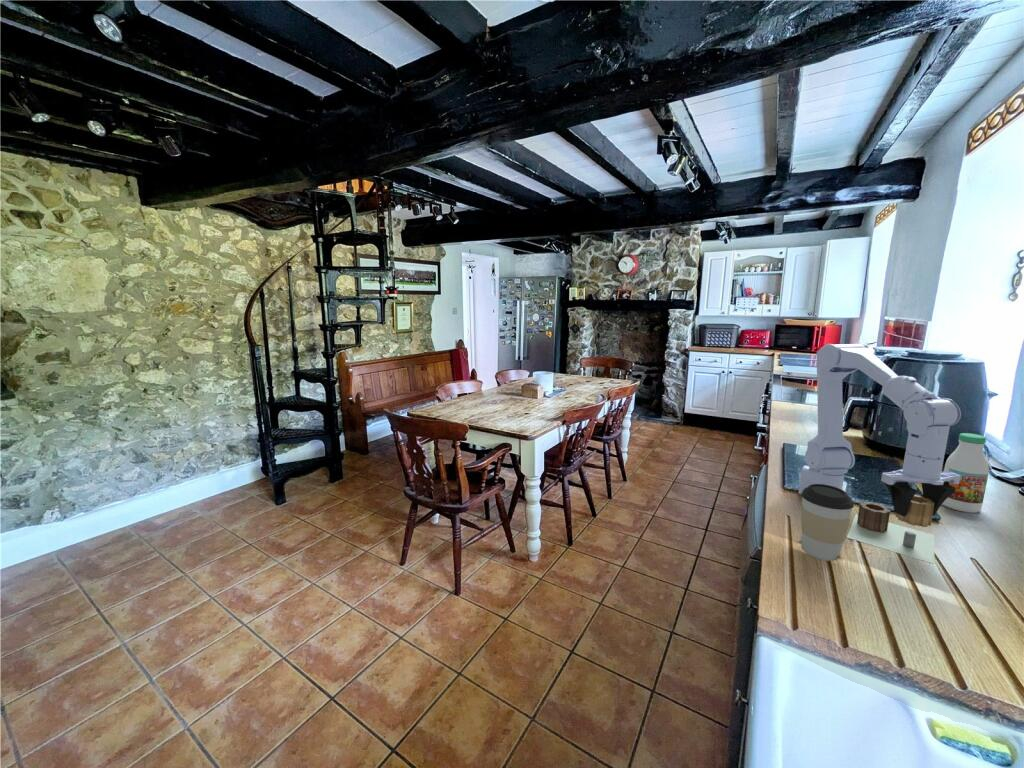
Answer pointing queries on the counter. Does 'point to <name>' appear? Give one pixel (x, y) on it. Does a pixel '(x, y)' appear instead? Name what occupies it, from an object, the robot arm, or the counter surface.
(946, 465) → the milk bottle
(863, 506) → the walnut cog
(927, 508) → the oak cog
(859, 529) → the board
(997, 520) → the counter surface
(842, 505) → the coffee cup
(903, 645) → the counter surface
